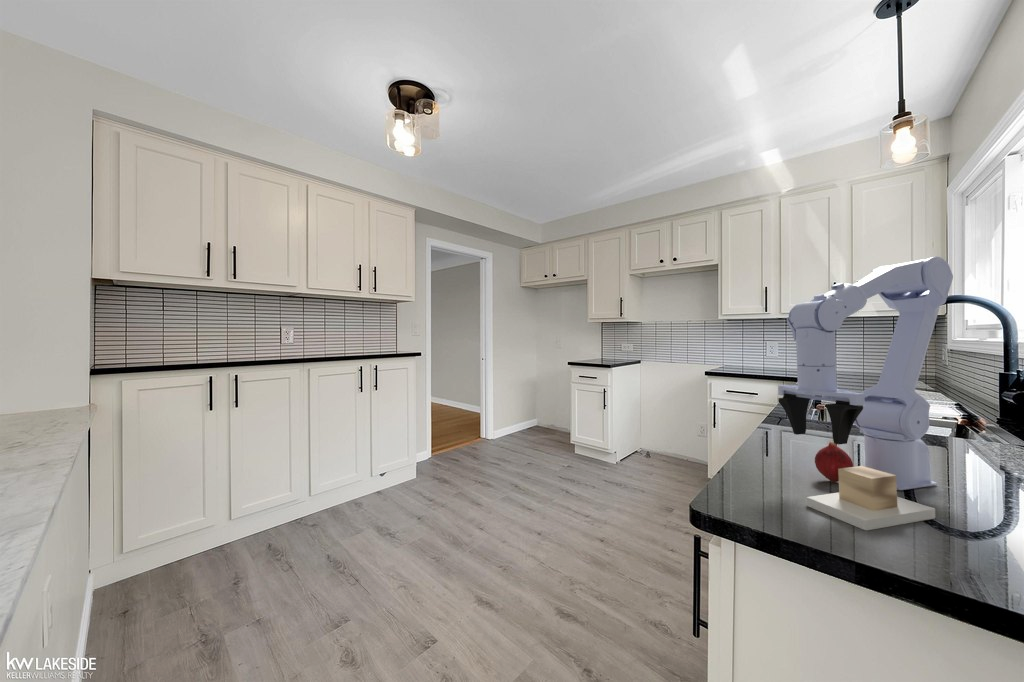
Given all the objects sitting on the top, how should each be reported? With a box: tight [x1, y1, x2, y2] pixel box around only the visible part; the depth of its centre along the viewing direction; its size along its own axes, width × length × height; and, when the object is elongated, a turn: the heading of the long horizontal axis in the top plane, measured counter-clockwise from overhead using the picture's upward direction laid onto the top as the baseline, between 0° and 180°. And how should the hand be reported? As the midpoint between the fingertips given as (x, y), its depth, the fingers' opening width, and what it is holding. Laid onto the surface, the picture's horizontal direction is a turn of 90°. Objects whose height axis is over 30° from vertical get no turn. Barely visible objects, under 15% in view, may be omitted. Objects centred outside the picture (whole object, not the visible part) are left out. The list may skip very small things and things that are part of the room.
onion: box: [814, 440, 854, 483], centre depth 76 cm, size 6×6×8 cm
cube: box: [838, 465, 898, 511], centre depth 63 cm, size 5×5×5 cm
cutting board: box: [806, 491, 936, 531], centre depth 63 cm, size 14×9×2 cm, turn 102°
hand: (819, 438), depth 71 cm, fingers open, 7 cm apart
